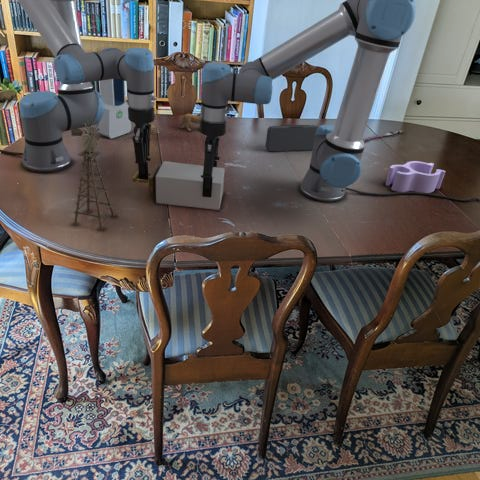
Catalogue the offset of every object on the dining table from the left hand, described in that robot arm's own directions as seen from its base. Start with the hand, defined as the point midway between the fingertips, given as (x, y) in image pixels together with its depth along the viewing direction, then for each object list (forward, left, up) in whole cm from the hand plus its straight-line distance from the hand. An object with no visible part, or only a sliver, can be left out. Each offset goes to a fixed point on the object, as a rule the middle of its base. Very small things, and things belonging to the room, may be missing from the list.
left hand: (143, 181), depth 146 cm
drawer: (+9, +1, -3) cm, 10 cm away
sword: (+87, +84, -4) cm, 121 cm away
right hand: (+21, +1, 0) cm, 21 cm away
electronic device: (-26, +46, -4) cm, 53 cm away
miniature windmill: (-8, -20, -4) cm, 22 cm away
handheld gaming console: (+46, +54, -4) cm, 71 cm away
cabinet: (+15, +1, -4) cm, 16 cm away
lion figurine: (+4, +63, -4) cm, 63 cm away
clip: (+91, +34, -4) cm, 97 cm away
